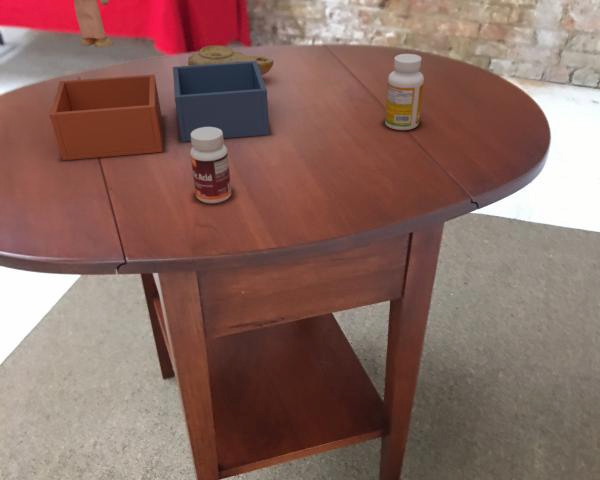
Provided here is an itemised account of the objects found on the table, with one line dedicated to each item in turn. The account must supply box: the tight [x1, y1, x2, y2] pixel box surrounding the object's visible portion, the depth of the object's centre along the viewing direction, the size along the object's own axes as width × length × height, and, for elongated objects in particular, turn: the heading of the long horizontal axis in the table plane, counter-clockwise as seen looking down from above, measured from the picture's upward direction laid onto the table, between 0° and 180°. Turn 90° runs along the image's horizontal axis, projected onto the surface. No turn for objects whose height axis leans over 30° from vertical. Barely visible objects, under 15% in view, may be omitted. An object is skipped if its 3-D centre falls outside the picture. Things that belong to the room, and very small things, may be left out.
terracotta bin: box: [49, 74, 164, 161], centre depth 96 cm, size 15×14×7 cm
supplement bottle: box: [384, 53, 425, 131], centre depth 97 cm, size 5×5×10 cm
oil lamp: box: [187, 44, 274, 76], centre depth 114 cm, size 11×14×5 cm
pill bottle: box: [189, 127, 232, 204], centre depth 82 cm, size 5×5×8 cm
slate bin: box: [172, 61, 270, 143], centre depth 100 cm, size 14×14×7 cm
